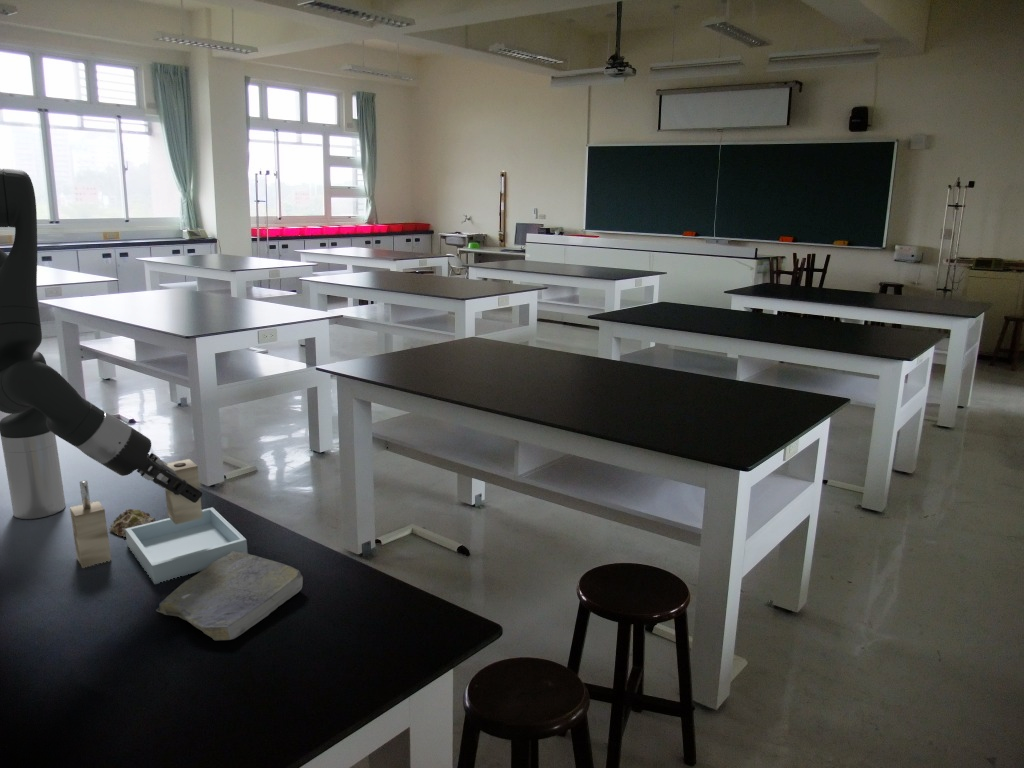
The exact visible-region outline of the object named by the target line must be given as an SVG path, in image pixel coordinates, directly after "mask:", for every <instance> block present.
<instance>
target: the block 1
mask: <svg viewBox="0 0 1024 768" xmlns="http://www.w3.org/2000/svg"><path fill="white" fill-rule="evenodd" d="M88 484H89V483H88V480H82V481H79V488H80V496H81V503H82V504H78V505H74V506H70V507H69V511H70V517H71V524H72V525H71V526H72V533H73V537H74V545H75V554H76V559H77V561H78V563H79V564H80V566H81V569H85V567H86V568H88V567H87V566H89V567H92V566H91V565H93V566H95V565H94V564H97V563H101V562H104V563H107V562H106V561H108V562H111V561H112V558H111V556H112V555H111V548H110V541H109V532H108V525H107V517H106V509H105V508H104V506H103V505H102V504H101V502H100V501H99V500H97V501H93V502H91V500H90V498H91V497H90V492H89V491H90V490H89V485H88ZM110 560H111V561H110ZM101 564H102V563H101ZM97 565H98V564H97Z"/></svg>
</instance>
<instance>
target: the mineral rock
mask: <svg viewBox="0 0 1024 768" xmlns="http://www.w3.org/2000/svg"><path fill="white" fill-rule="evenodd" d="M155 521H156V519H155V517H151V515H150V513H148V512H145V511H141V509H134V508H132V509H131V508H128V509H126V510H125V511H122V512H121V513H120V514H119V515H118V516H117V517H116V518H115V519H114V520H113V523H112V524H111V525H110V526H109V527H110V528H109V531H110V532H112V533H113V534H115V535H116V534H118V535H117V536H120V537H122V536H123V537H122V538H124V537H126V531H125V529H127V528H131V527H135V526H139V525H143V524H147V523H151V522H155Z"/></svg>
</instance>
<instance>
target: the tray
mask: <svg viewBox="0 0 1024 768" xmlns="http://www.w3.org/2000/svg"><path fill="white" fill-rule="evenodd" d="M125 531H126V538H125V539H126V545H128V546H127V547H129V548H130V549H129V548H128V549H129V550H130V552H131V551H132V552H131V554H132V555H133V554H134V555H135V556H134V555H133V556H134V557H135V559H136V558H137V559H136V560H137V562H138V561H139V562H140V563H139V562H138V563H139V565H142V566H141V567H142V569H143V568H144V569H143V570H144V572H145V571H146V572H147V573H146V572H145V573H146V575H147V576H148V575H149V576H148V577H149V579H150V578H151V579H150V580H151V581H152V583H153V585H158V584H160V582H162V583H164V582H163V581H165V582H167V581H166V580H168V581H170V579H172V580H174V579H173V578H175V579H178V578H177V577H179V578H181V577H180V576H182V577H185V576H188V574H189V575H191V574H196V573H200V572H201V571H202V570H204V569H205V568H207V567H208V566H209V565H210V564H212V563H213V562H215V561H216V560H218V559H220V558H222V557H223V556H226V555H228V554H230V553H231V552H233V551H237V552H243V553H247V554H249V552H248V544H247V543H248V542H247V541H248V540H247V539H246V538H245V536H243V535H242V534H241V532H239V531H238V530H237V529H236V528H235V527H234V526H233V525H232V524H231V523H230V522H229V521H227V519H225V518H224V516H222V515H221V514H220V513H219V512H218V511H217V510H216V509H215V508H214V507H208V508H204V509H202V518H200V519H196V520H192V521H188V522H184V523H180V524H177V525H176V524H175V523H174V522H173V521H172V520H171V519H170V518H169V517H168V518H163V519H159V520H155V522H151V523H147V524H143V525H139V526H135V527H131V528H127V529H125Z"/></svg>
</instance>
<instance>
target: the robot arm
mask: <svg viewBox="0 0 1024 768" xmlns="http://www.w3.org/2000/svg"><path fill="white" fill-rule="evenodd" d="M37 215H38V214H37V202H36V193H35V189H34V184H33V182H32V178H31V177H30V175H29V174H28V173H27V172H26V171H24V170H22V169H13V168H0V228H14V239H13V243H12V246H11V249H10V252H9V253H8V254H7V252H5V251H4V250H2V249H1V248H0V412H1V413H4V414H8V415H6V416H4V417H2V418H1V419H0V441H1V446H2V447H1V448H2V452H3V458H4V464H5V465H4V466H5V470H6V476H7V482H8V488H9V489H8V490H9V495H10V502H11V503H10V504H11V507H12V515H13V517H15V518H17V519H22V520H32V519H41V518H45V517H49V516H52V515H55V514H57V513H59V512H61V511H63V510H64V509H65V507H66V499H65V491H64V484H63V478H62V470H61V465H60V458H59V456H60V455H59V452H58V451H59V450H58V445H57V438H56V436H57V437H59V438H60V439H62V440H64V441H65V442H67V443H68V444H70V445H71V446H74V447H75V448H77V449H78V450H79V451H81V452H82V453H83V454H84V455H86V457H89V458H90V459H92V460H93V461H94V462H95V461H96V462H97V463H99V464H100V465H102V466H103V467H106V468H107V469H109V470H110V471H112V472H114V473H115V474H116V475H119V476H122V477H124V476H128V475H130V474H132V473H133V472H134V471H136V472H137V473H138V474H140V476H141V477H142V478H143V479H145V480H147V481H151V482H153V483H154V484H156V485H157V486H159V487H161V488H162V489H165V488H166V489H168V490H169V491H171V492H173V493H174V494H175V495H179V494H180V495H182V496H184V497H185V498H187V499H189V500H190V501H192V502H194V503H196V502H197V501H198V500H199V498H201V497H203V492H202V491H201V490H200V491H199V490H198V489H196V488H195V487H193V486H191V485H190V484H188V483H187V482H186V480H183V479H181V478H180V477H178V476H177V473H176V471H174V470H173V469H172V468H170V467H169V466H167V462H165V461H164V460H162V459H161V458H160V457H159V456H157V455H156V454H155V453H153V452H151V453H150V451H151V449H152V440H151V439H150V438H149V437H148V436H146V435H144V434H143V433H141V432H140V431H138V430H136V429H135V428H133V427H132V426H131V425H128V424H127V423H126V422H125V421H122V420H121V419H119V418H117V417H116V416H113V415H112V414H109V413H107V412H106V411H104V410H102V409H101V408H99V407H98V406H96V405H95V404H93V403H92V402H90V401H89V400H87V399H85V398H83V397H82V395H80V393H79V392H78V391H77V390H76V388H74V386H72V385H71V383H69V382H68V381H67V380H66V378H64V376H62V375H61V374H60V373H59V371H57V370H56V369H54V368H53V367H52V366H50V365H48V364H47V362H46V358H45V357H44V355H43V353H41V351H37V350H38V348H39V347H40V346H41V343H42V339H43V334H42V333H43V332H42V326H41V325H42V324H41V315H40V308H39V302H38V301H39V300H38V285H37V284H38V219H37V218H38V217H37ZM169 471H170V472H171V473H169ZM176 482H178V484H177V485H176V486H175V487H173V485H174V484H175V483H176Z"/></svg>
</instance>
